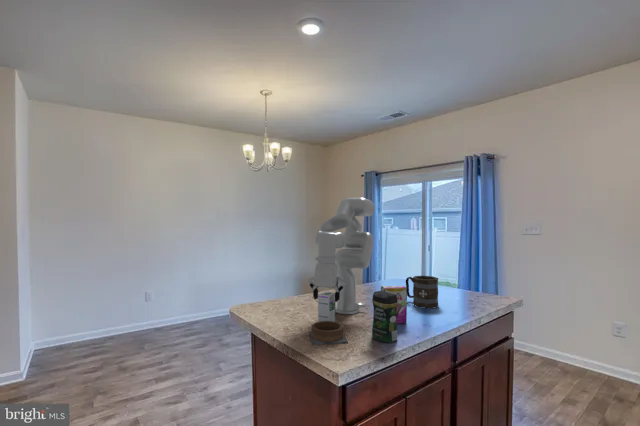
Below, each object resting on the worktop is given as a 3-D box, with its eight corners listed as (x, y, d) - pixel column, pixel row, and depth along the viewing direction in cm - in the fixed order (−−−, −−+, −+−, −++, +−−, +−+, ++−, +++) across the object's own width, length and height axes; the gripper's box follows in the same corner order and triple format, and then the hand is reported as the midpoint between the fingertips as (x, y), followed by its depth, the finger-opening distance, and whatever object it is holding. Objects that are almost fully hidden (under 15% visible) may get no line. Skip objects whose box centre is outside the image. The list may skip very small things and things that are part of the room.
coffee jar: (368, 337, 132) (368, 291, 133) (382, 333, 137) (382, 288, 137) (387, 345, 125) (387, 295, 125) (401, 340, 130) (401, 292, 130)
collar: (340, 330, 140) (340, 320, 140) (348, 342, 127) (348, 331, 127) (308, 332, 138) (308, 321, 138) (312, 344, 125) (312, 332, 125)
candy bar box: (383, 325, 148) (383, 288, 148) (379, 321, 153) (379, 285, 153) (407, 323, 150) (407, 287, 150) (402, 320, 155) (402, 285, 155)
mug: (443, 305, 181) (443, 278, 181) (429, 310, 172) (429, 281, 172) (413, 298, 196) (413, 273, 196) (398, 302, 188) (398, 275, 188)
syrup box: (329, 329, 142) (329, 295, 142) (317, 327, 145) (317, 293, 145) (335, 325, 147) (335, 292, 147) (324, 323, 150) (324, 291, 150)
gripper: (305, 260, 146) (304, 299, 145) (343, 262, 139) (342, 303, 139) (311, 258, 153) (311, 296, 152) (348, 260, 146) (347, 300, 146)
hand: (326, 299), depth 145 cm, fingers open, 9 cm apart
